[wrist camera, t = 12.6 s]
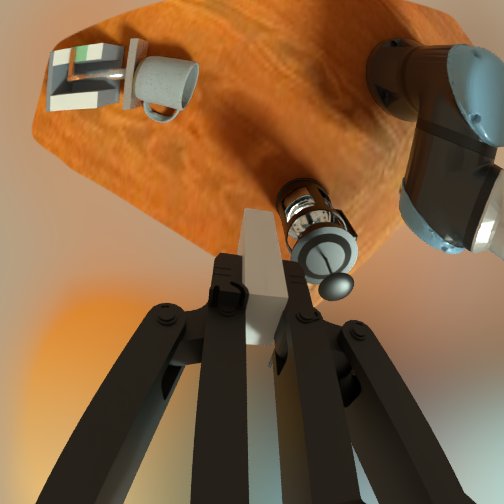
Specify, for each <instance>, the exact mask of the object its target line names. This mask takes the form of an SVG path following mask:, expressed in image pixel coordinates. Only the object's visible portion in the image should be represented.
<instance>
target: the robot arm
mask: <svg viewBox="0 0 504 504" xmlns="http://www.w3.org/2000/svg"><path fill="white" fill-rule="evenodd" d="M366 79H367V84H368V87H369V90H370V92H371V95H372V96H373V98H374V100H375V101H376V103H377V104H378V105H379V106H380V107H381V108H382V109H383V110H384V111H385V112H386V113H388V114H389V115H391V116H393V117H395V118H398V119H401V120H404V121H410V122H417V124H416V128H415V133H414V138H413V143H412V147H411V152H410V156H409V161H408V165H407V169H406V173H405V177H404V178H403V180H402V191H401V196H400V200H399V210H400V212H401V216H402V218H403V220H404V222H405V223H406V225H407V226H408V227H409V228H410V229H411V230H412V232H414V233H415V234H416V235H417V236H418V237H419V238H420V239H422V240H423V241H424V242H426V243H427V244H429V245H430V246H432V247H434V248H436V249H440V248H441V249H442V250H443V251H444V252H445V253H449V254H458V253H460V252H462V251H463V250H464V249H465V248H466V249H467V250H469V251H471V252H472V253H477V252H480V251H483V250H490V251H491V252H493V253H494V254H495V255H497V256H498V257H499V258H501V259H502V260H503V261H504V169H503V168H500V167H499V166H497V165H495V164H494V159H495V156H496V151H497V148H498V147H504V62H503V61H502V60H501V59H500V58H499V57H498V56H496V55H495V54H494V53H492V52H491V51H489V50H487V49H485V48H481V47H475V46H470V45H466V44H456V45H432V46H426V45H423V44H421V43H419V42H417V41H414V40H411V39H407V38H394V39H389V40H385V41H383V42H381V43H380V44H378V45H377V46H376V47H375V48H374V49H373V50H372V52H371V54H370V56H369V58H368V61H367V66H366ZM273 340H275V349H274V351H273V354H272V356H271V359H270V361H269V366H268V367H271V366H272V363H273V372H274V385H275V398H276V412H277V425H278V440H279V455H280V470H281V486H282V502H283V504H366V503H364V502H363V501H362V499H361V496H360V491H359V485H358V479H357V473H356V467H355V461H354V456H353V450H352V445H353V448H354V450H355V452H356V454H357V456H358V458H359V461H360V463H361V465H362V467H363V469H364V472H365V474H366V476H367V478H368V480H369V483H370V485H371V487H372V489H373V491H374V494H375V496H376V498H377V500H378V502H379V504H476V503H475V502H474V501H473V500H472V499H471V498H470V497H469V496H467V495H466V494H465V493H464V491H463V489H462V487H461V485H460V483H459V481H458V479H457V477H456V475H455V473H454V471H453V469H452V467H451V465H450V463H449V461H448V459H447V457H446V455H445V453H444V451H443V450H442V448H441V446H440V444H439V442H438V440H437V438H436V437H435V435H434V433H433V431H432V429H431V427H430V426H429V424H428V422H427V421H426V418H425V417H424V415H423V414H422V411H421V410H420V408H419V406H418V405H417V403H416V401H415V399H414V398H413V396H412V394H411V393H410V391H409V389H408V387H407V386H406V384H405V383H404V381H403V379H402V378H401V376H400V374H399V373H398V371H397V370H396V368H395V366H394V365H393V363H392V361H391V360H390V358H389V357H388V355H387V353H386V352H385V350H384V349H383V347H382V346H381V344H380V342H379V341H378V339H377V338H376V336H375V335H374V333H373V332H372V330H371V329H370V328H369V327H368V326H367V325H366V324H364V323H363V322H360V321H357V320H350V321H347V322H346V323H345V324H344V325H343V326H342V327H341V326H338V325H335V324H332V323H329V322H327V321H325V320H323V317H322V316H321V313H320V312H319V311H318V310H317V309H315V308H314V307H313V305H312V301H311V297H310V293H309V289H308V285H307V281H306V278H305V273H304V270H303V268H302V267H301V266H300V264H299V263H298V262H295V261H287V260H282V258H281V253H280V247H279V242H278V236H277V231H276V226H275V220H274V215H273V212H270V211H263V210H256V209H249V208H245V210H244V216H243V222H242V227H241V233H240V239H239V245H238V250H237V255H234V254H226V253H220V254H219V255H218V256H217V257H216V258H215V261H214V268H213V275H212V282H211V287H210V289H209V300H208V302H207V303H206V305H204V306H203V307H202V308H199V309H197V310H192V311H185V312H184V310H183V309H182V308H181V307H179V306H177V305H175V304H171V303H162V304H158V305H156V306H154V307H153V308H152V309H151V310H150V311H149V312H148V313H147V315H146V317H145V318H144V319H143V321H142V323H141V324H140V325H139V327H138V328H137V330H136V331H135V333H134V334H133V336H132V337H131V339H130V340H129V342H128V343H127V345H126V346H125V348H124V350H123V351H122V353H121V354H120V356H119V357H118V359H117V360H116V362H115V364H114V365H113V367H112V368H111V370H110V371H109V373H108V375H107V376H106V378H105V379H104V381H103V383H102V384H101V386H100V387H99V389H98V391H97V393H96V394H95V396H94V397H93V399H92V401H91V402H90V404H89V406H88V407H87V409H86V411H85V412H84V414H83V416H82V417H81V419H80V421H79V423H78V424H77V426H76V428H75V430H74V431H73V433H72V435H71V437H70V438H69V441H68V442H67V444H66V446H65V447H64V449H63V451H62V453H61V455H60V457H59V458H58V460H57V462H56V464H55V466H54V468H53V470H52V472H51V474H50V475H49V477H48V479H47V482H46V483H45V485H44V487H43V490H42V491H41V493H40V495H39V497H38V500H37V502H36V504H123V503H124V501H125V498H126V496H127V494H128V491H129V489H130V487H131V485H132V482H133V480H134V478H135V476H136V473H137V471H138V469H139V467H140V464H141V462H142V460H143V458H144V455H145V453H146V451H147V449H148V446H149V444H150V442H151V440H152V438H153V435H154V433H155V431H156V429H157V427H158V424H159V422H160V420H161V418H162V416H163V413H164V411H165V409H166V406H167V405H168V402H169V400H170V398H171V396H172V394H173V392H174V389H175V387H176V385H177V383H178V381H179V379H180V376H181V374H182V372H183V370H184V368H185V365H189V364H195V363H201V371H200V380H199V390H198V401H197V412H196V425H195V436H194V450H193V464H192V481H191V501H190V504H249V484H248V483H249V482H248V437H247V435H248V434H247V378H246V344H255V345H268V346H271V345H272V343H273ZM351 443H352V445H351Z"/></svg>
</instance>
